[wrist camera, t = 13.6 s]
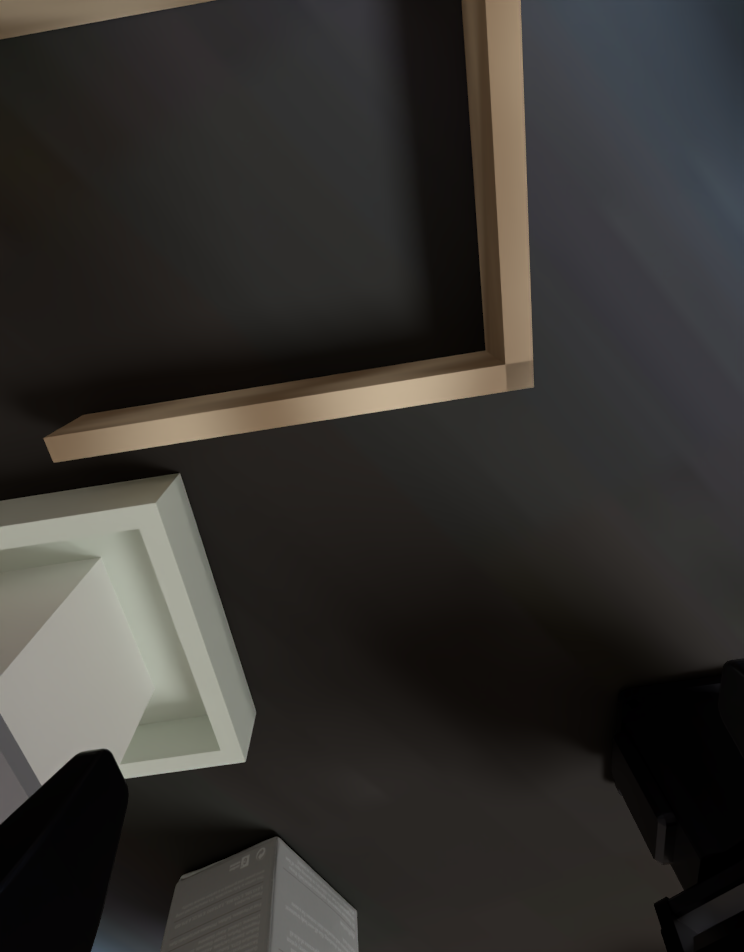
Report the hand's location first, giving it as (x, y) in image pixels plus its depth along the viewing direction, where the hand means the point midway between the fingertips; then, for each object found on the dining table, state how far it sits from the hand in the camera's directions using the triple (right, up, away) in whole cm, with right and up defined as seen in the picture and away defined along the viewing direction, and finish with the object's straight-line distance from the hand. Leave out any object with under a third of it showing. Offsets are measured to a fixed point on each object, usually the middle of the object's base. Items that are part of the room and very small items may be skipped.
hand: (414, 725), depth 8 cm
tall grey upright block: (-12, -3, +13) cm, 18 cm away
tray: (-12, -2, +14) cm, 19 cm away
